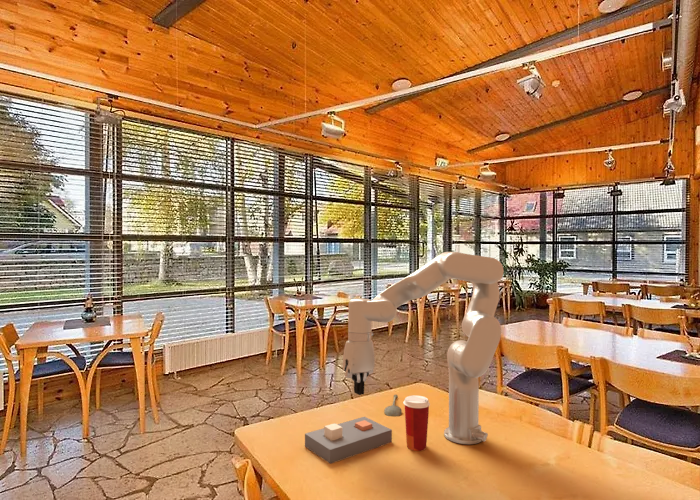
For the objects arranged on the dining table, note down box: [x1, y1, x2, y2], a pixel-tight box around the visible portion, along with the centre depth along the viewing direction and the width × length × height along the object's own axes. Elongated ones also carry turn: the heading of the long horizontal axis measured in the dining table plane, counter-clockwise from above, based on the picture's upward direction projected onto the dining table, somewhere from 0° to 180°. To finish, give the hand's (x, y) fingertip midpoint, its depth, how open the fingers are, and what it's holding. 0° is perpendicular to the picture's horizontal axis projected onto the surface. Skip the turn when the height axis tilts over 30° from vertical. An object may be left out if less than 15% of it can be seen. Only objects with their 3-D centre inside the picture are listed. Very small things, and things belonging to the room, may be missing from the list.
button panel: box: [304, 416, 393, 464], centre depth 139 cm, size 14×24×4 cm, turn 127°
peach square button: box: [355, 420, 372, 431], centre depth 143 cm, size 4×4×4 cm
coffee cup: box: [402, 395, 431, 452], centre depth 138 cm, size 8×8×15 cm
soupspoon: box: [383, 394, 402, 418], centre depth 174 cm, size 22×3×7 cm
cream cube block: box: [323, 423, 342, 441], centre depth 136 cm, size 4×4×4 cm
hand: (359, 393), depth 142 cm, fingers closed
